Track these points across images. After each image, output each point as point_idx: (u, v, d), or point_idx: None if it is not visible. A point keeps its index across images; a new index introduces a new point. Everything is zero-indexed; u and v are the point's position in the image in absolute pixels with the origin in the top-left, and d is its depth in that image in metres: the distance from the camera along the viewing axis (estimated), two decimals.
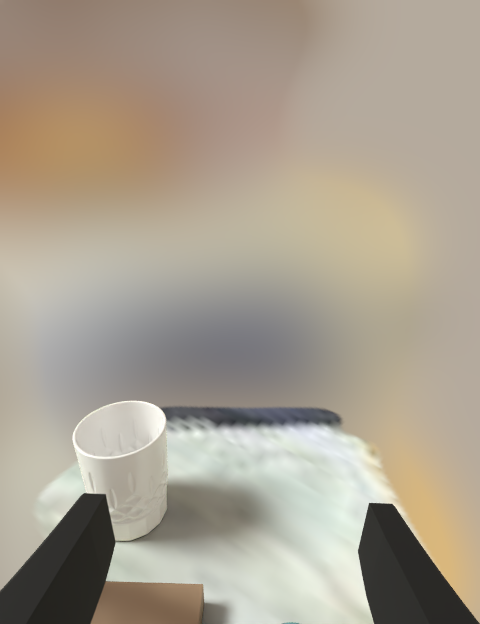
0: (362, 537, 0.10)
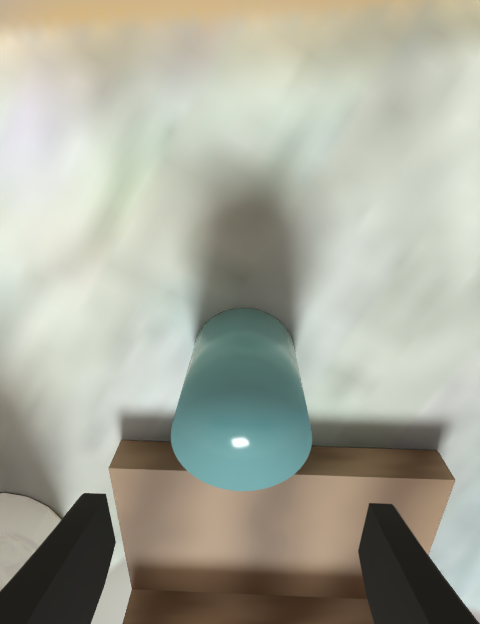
0: (362, 537, 0.10)
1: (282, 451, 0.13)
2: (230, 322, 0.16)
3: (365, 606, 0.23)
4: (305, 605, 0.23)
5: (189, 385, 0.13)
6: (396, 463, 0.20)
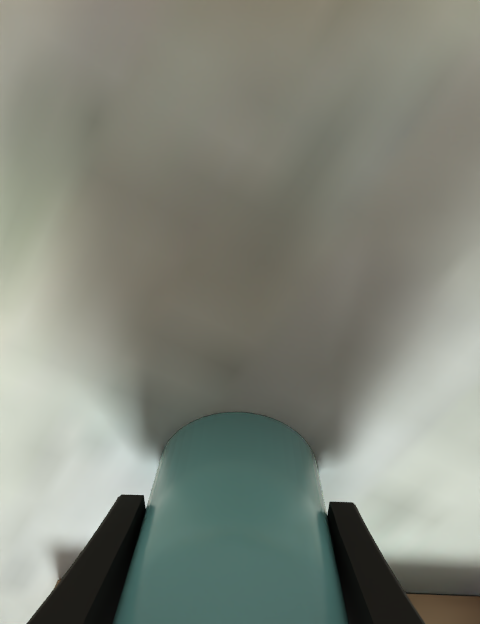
0: None
1: None
2: (212, 451, 0.09)
3: None
4: None
5: None
6: None
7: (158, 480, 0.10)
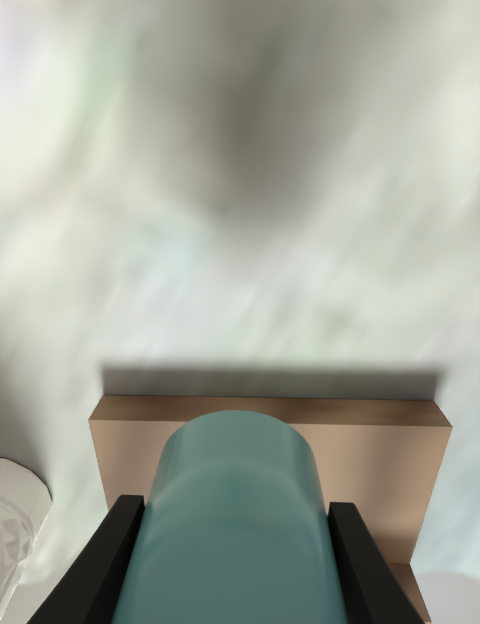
0: None
1: None
2: (211, 448, 0.09)
3: None
4: None
5: None
6: (390, 412, 0.19)
7: (157, 478, 0.10)
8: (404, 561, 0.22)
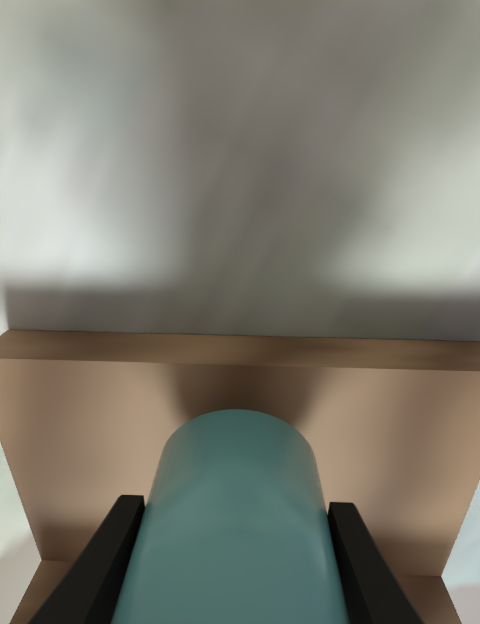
0: None
1: None
2: (211, 447, 0.09)
3: None
4: None
5: None
6: (425, 354, 0.13)
7: (157, 477, 0.10)
8: (434, 573, 0.16)
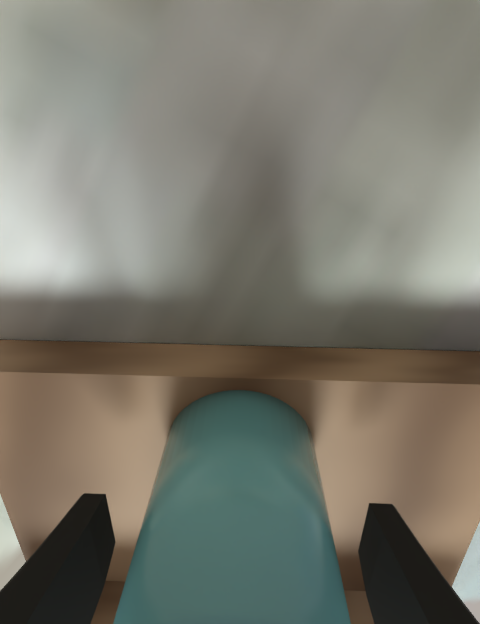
0: (362, 537, 0.10)
1: None
2: (215, 423, 0.10)
3: None
4: None
5: (136, 578, 0.07)
6: (433, 366, 0.12)
7: (166, 451, 0.11)
8: None
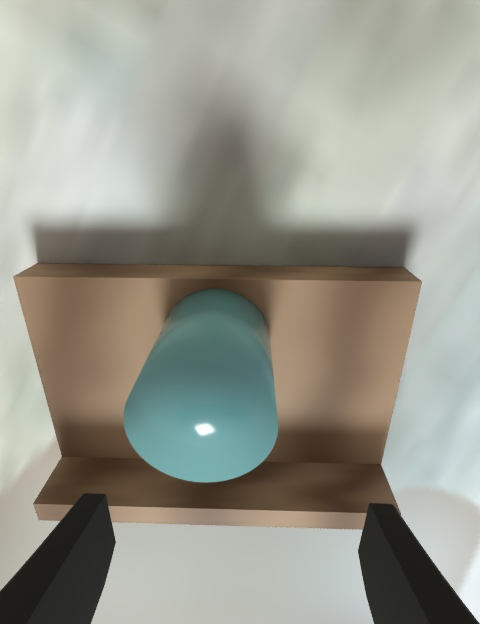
0: (362, 537, 0.10)
1: (247, 437, 0.12)
2: (196, 302, 0.15)
3: (327, 468, 0.20)
4: (258, 468, 0.20)
5: (144, 367, 0.12)
6: (354, 273, 0.17)
7: (163, 326, 0.15)
8: (375, 461, 0.20)
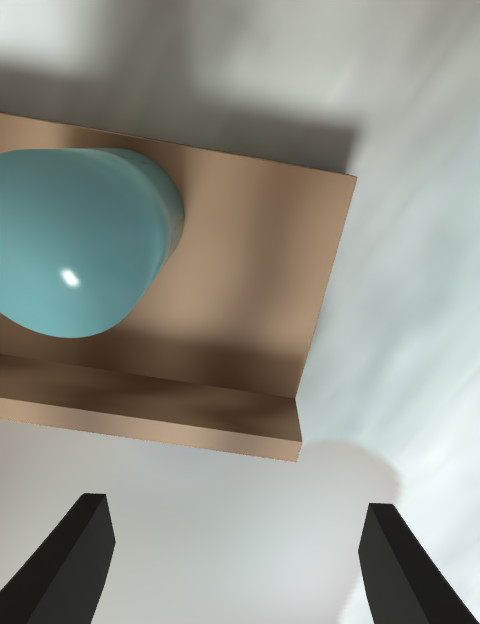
0: (362, 537, 0.10)
1: (108, 277, 0.10)
2: None
3: (236, 394, 0.18)
4: (160, 384, 0.18)
5: None
6: None
7: None
8: (289, 394, 0.18)
